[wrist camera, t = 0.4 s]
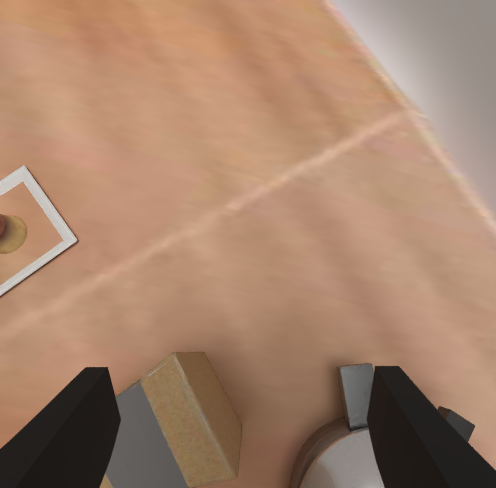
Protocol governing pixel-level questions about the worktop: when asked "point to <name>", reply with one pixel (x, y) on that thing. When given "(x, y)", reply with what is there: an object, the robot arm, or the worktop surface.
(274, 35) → the worktop surface
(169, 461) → the sandwich container
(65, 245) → the dessert
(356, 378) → the cooker pot
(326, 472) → the cooker lid
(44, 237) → the worktop surface
